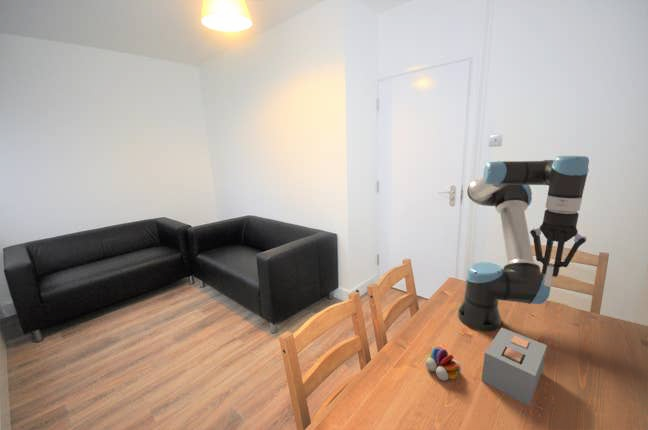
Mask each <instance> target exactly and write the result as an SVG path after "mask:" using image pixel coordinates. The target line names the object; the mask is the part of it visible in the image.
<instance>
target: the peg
mask: <svg viewBox="0 0 648 430" xmlns="http://www.w3.org/2000/svg"><path fill="white" fill-rule="evenodd" d="M522 356H523V354H522V353H520V352H517V351H515V350H513V349H510V348H508V347H507V349H506V351H505V353H504V356H503V357H506V358H508V359H510V360H512V361H514V362H516V363H519V364H521V362H522Z"/></svg>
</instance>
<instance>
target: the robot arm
mask: <svg viewBox="0 0 648 430" xmlns="http://www.w3.org/2000/svg"><path fill="white" fill-rule="evenodd" d="M589 163H590V159H589V157H588V156H586V155H558V156H555V158H554V159H545V160H529V161H528V160H527V161H525V160H524V161H521V160H520V161H513V160H511V161H510V160H509V161H508V160H507V161H506V160H505V161H502V160H497V161H489V162H487V163H486V164H484V165H485V166H484V169H483V174H482V176H481V178H478V179H475V180H474V181H472V182H471V183H469V185H468V187H467V190H466V191H467V192H466V193H467V196H468V198H469V200H471V201H472V202H473V203H475V204H477V205H480V206H484V207H485V206H487V207H494V208H495V212H496V213H498V214H500V220H501V225H502V226H501V227H502V234H503V241H504V249H505V250H504V251H505V255H506V257H505V258H506V264H505V265H504V266H501V265H500V264H497V263H493V262H488V261H487V262H486V261H485V262H475V263H473V264H471V265H469V266H468V268H467V271H466V276H465V287H464V288H465V289H464V290H465V291H464V298H463V300H462V302H461V304H460V305H459V307H458V311H457V317H458V319H459V321H460V322H462V324H464V325H465V326H467V327H470V328H472V329H474V330H478V331H482V332H495V331H497V330H500V329H501V326H502V325H501V322H502V318H501V313H500V310H499V301H506V302H514V303H522V304H527V305H543V304H545V303H546V301H547V300H548V299H549V296H550V293H551V288H552V287H551V286H552V284H553V279H554V277H555V278H557V277H558V276H559V273H560V268H568V266H569V265H570V262H571V261H572V260H573V258H574V256H575V255H576V252H577V251H578V249H579V248H580V246H582V245H583V244H584V243H586V242H587V237H586V236H582V235H581V234H580V233H579V232H578V231H579V230H578V229H577V225H578V219H579V215H580V214H579V213H578V212H580V210H581V206H582V200H583V194H584V190H585V186H586V181H587V176H588V173H589V171H590V170H589ZM531 186H548V189H547V190H548V191H547V196H546V203H545V208H546V209H545V210H544V214H543V219H542V223H541V225H540V226H539V227H537V228H533V229H531V230H530V231H529V229H528V224H527V218H526V213H525V211H526V210H527V209H528V207H529V206H530V205H531V203H532V200H533V197H532V196H533V195H532V194H533V192H532V189H531ZM529 233H530V235H531V236H532V238H533V239H532V240H533V244H534V252H535V259H536V261H537V262H540V263H541V264H542V268H541V267H540V265H539V264H537V263H536V262H534V261H535V260H534V255H533V250H532V246H531V240H530V235H529ZM541 233H542V234H543V236H544V237H545V239H546V244H545V251H544V256H543V248H542V241H541V236H540V235H541ZM573 238H574V239H573ZM571 239H573V241H574V243H573V245H572V247H571V249H570V250H569V251H568V254H567V255H566V257H565V258H564V261H563V260H562V258H563V254H564V249H565V244H566V242H567V243H568V241H569V240H571ZM554 242H557V246H556V247H557V248H556V251H555V252H556V253H555V258H554V262H553V263H550V261H551V256H552V251H553V246H554ZM541 269H542V270H541Z"/></svg>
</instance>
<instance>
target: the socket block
mask: <svg viewBox="0 0 648 430" xmlns="http://www.w3.org/2000/svg"><path fill="white" fill-rule="evenodd" d="M507 347H508V348H510V349H513V350H515V351H517V352H520V353H522V354H523V356H522V362H521V364H519V363H516V362H514V361H512V360H510V359H508V358H506V357H503V356H504V353H505V351H506V349H507ZM547 347H548V344H546V343H545V344H544V343H542V342H539V341H537V340H534V339H532V338H529V337H526V336H525V335H521V334H519V333H517V332H514V331H512V330H509V329H506V328H504V327H501V326H500V328H499V329H498V332H497V334H496V335H495V336H494V338H493V340H492V341H491V342H490V344H489V345H488V347H487V349H486V350H485V352H484V358H483V366H482V371H481V372H482V373H481V378H480V379H481V380H480V381H481V382H483V383H485V384H486V385H489V386H490V387H493V388H495V389H497V390H499V391H500V392H502V393H504V394H505V395H507V396H509V397H511V398H513V399H514V400H517V401H519V402H521V403H523V404H524V405H526V406H527V407H530V406H531V403H532V401H533V398H534V395H535V392H536V389H537V387H538V384H539V382H540V378H541V377H542V376H541V375H542V373H543V368H544V363H545V359H546V358H545V357H546V353H547Z"/></svg>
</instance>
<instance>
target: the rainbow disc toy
mask: <svg viewBox="0 0 648 430" xmlns="http://www.w3.org/2000/svg"><path fill="white" fill-rule="evenodd" d="M425 367H426V368H427V369H428V371H431V372H435V374H436V376H437V378H438V379H439V380H441V381H448V380H449V379H452V380H453V379H457V377H458V375H459V374H460V373H461V371H462V366H461V364H460V362H459V361H457V360H455V359H454V356H453V354H449V353H448V351H447V349H446V348H439V347H434V348H432V349H431V352H430V354H429V355H428V357H427V358H426V360H425Z"/></svg>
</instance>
